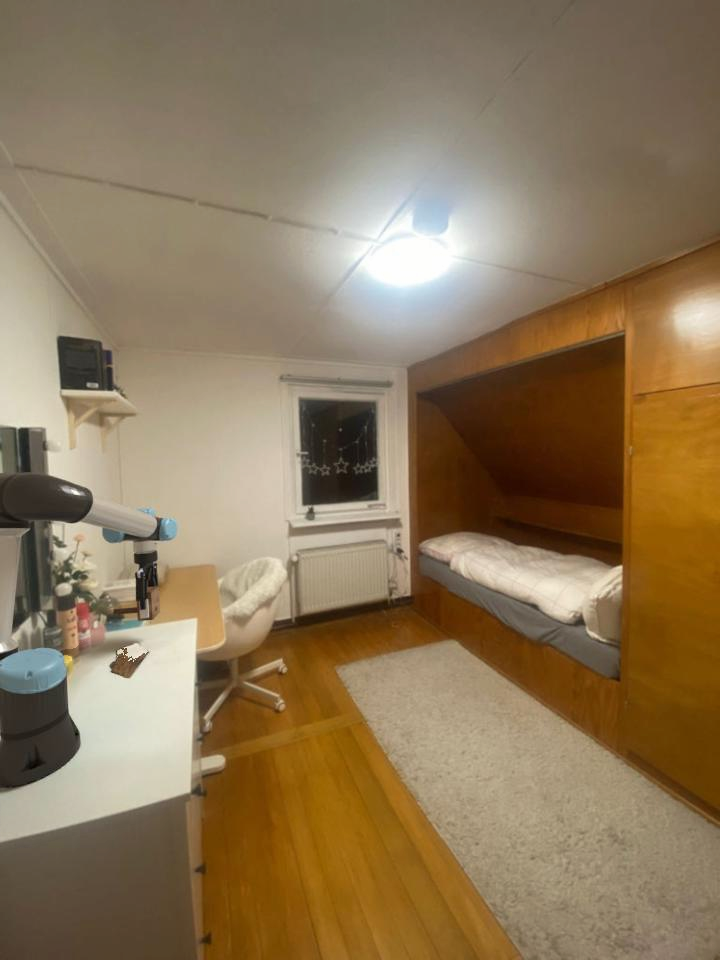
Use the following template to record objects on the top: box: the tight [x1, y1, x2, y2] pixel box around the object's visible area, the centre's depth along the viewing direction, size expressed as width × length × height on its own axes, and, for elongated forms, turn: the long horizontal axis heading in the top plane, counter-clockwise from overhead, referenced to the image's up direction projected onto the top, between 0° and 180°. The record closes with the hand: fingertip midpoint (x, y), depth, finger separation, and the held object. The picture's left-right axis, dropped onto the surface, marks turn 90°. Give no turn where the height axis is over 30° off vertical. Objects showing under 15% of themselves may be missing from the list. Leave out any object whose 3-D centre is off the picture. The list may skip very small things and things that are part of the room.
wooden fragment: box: [109, 647, 149, 679], centre depth 129 cm, size 26×11×1 cm, turn 24°
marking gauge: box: [112, 586, 161, 622], centre depth 139 cm, size 14×7×10 cm, turn 98°
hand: (149, 613), depth 140 cm, fingers closed on marking gauge, 7 cm apart
